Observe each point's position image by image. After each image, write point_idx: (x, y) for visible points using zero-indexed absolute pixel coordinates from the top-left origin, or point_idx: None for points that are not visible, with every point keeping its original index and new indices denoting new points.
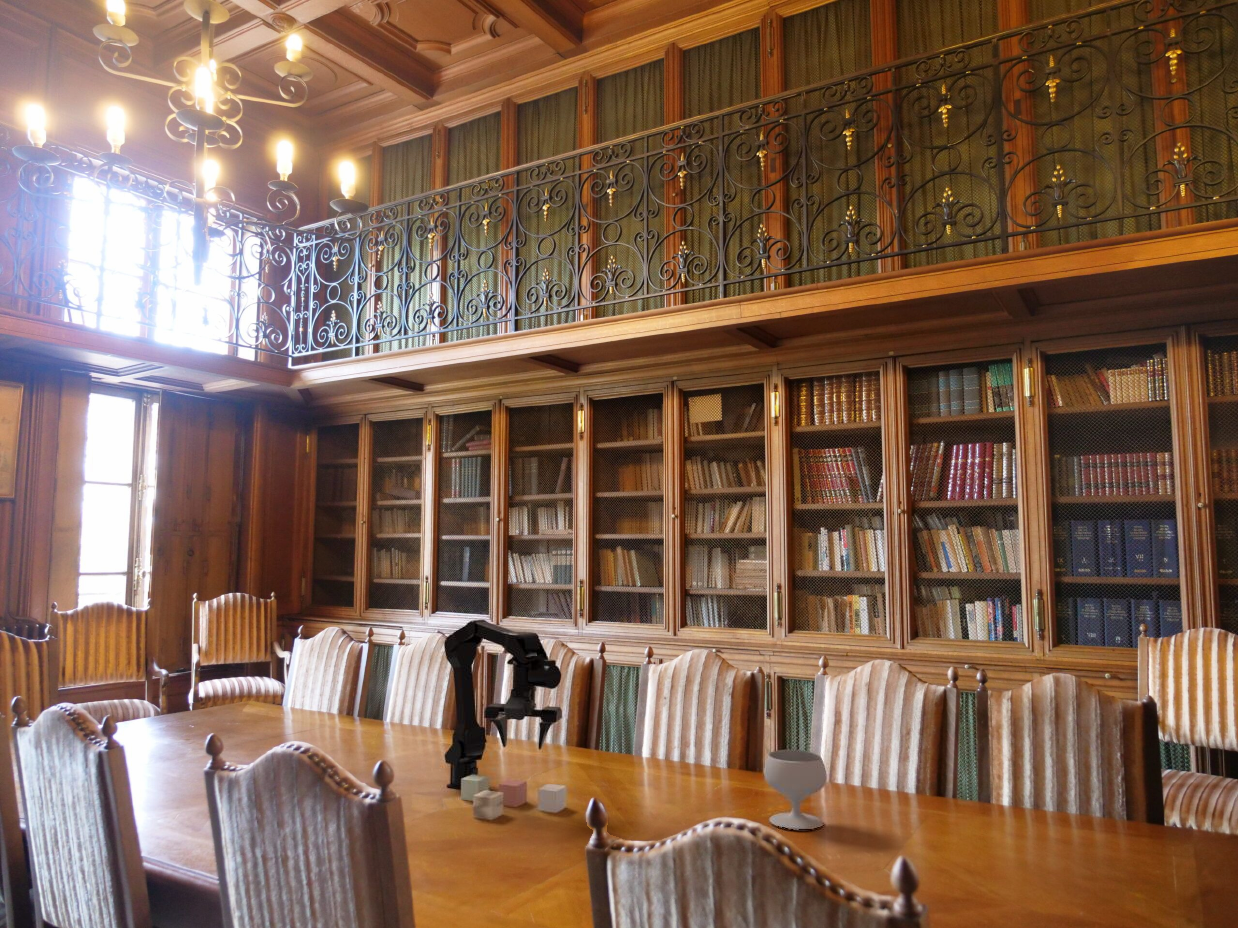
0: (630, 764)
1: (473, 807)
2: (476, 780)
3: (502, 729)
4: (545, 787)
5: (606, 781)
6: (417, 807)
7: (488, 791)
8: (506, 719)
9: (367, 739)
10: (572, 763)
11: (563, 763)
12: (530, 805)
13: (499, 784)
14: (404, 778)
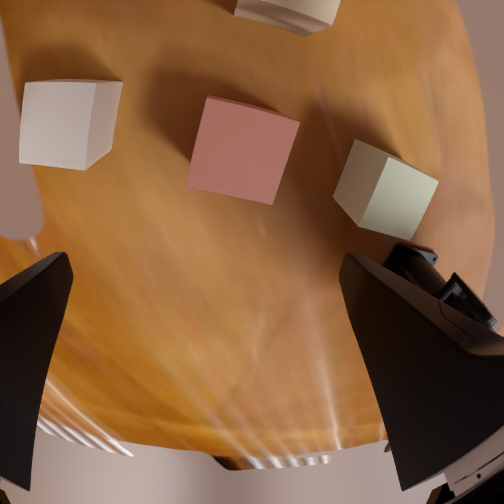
0: (106, 421)
1: None
2: (394, 165)
3: (442, 331)
4: (75, 115)
5: (79, 355)
6: (475, 89)
7: (312, 7)
8: (407, 462)
9: None
10: (201, 421)
11: (217, 420)
12: (163, 123)
13: (295, 120)
14: (484, 286)
